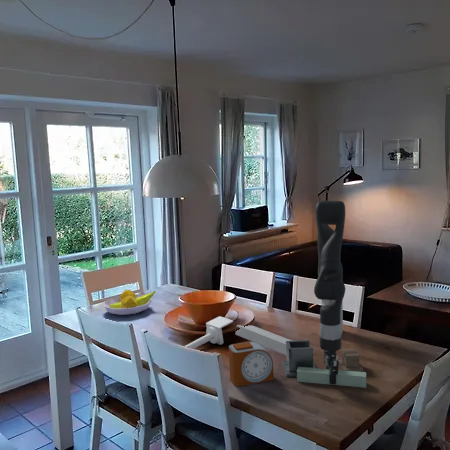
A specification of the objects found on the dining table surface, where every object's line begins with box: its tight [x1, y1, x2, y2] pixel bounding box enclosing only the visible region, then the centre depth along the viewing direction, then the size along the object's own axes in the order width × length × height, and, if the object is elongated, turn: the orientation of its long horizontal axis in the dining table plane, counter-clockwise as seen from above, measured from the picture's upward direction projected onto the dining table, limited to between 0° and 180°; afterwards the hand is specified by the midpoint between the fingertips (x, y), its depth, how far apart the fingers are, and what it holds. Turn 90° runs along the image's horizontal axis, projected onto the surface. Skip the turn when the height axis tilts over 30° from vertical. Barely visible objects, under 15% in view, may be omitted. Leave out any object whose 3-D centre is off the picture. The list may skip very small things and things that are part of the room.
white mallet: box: [184, 315, 234, 350], centre depth 203 cm, size 9×9×32 cm
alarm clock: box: [228, 341, 275, 387], centre depth 171 cm, size 15×8×14 cm, turn 106°
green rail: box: [296, 367, 367, 389], centre depth 167 cm, size 4×24×4 cm, turn 74°
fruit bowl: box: [103, 289, 156, 316], centre depth 258 cm, size 28×27×11 cm
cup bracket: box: [281, 339, 317, 378], centre depth 178 cm, size 11×12×10 cm
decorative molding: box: [235, 324, 293, 356], centre depth 207 cm, size 34×5×10 cm
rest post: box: [338, 348, 364, 372], centre depth 178 cm, size 9×7×6 cm
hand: (331, 380), depth 167 cm, fingers closed on green rail, 4 cm apart
